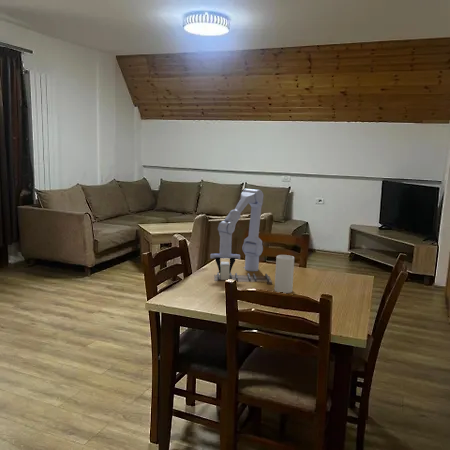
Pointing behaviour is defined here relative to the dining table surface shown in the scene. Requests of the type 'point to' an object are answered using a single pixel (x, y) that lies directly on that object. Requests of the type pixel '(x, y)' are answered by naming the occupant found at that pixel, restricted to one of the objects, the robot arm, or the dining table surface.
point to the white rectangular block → (224, 270)
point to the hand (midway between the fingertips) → (224, 272)
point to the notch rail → (246, 278)
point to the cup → (284, 273)
